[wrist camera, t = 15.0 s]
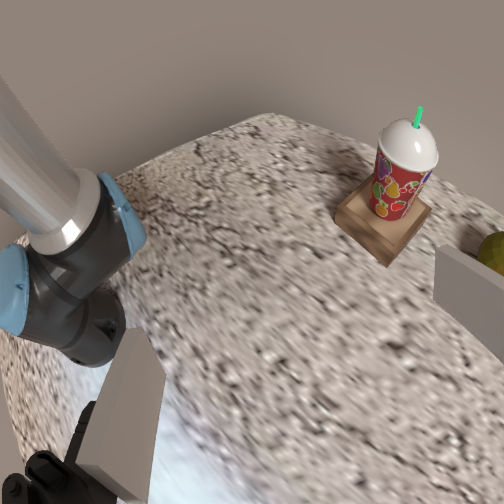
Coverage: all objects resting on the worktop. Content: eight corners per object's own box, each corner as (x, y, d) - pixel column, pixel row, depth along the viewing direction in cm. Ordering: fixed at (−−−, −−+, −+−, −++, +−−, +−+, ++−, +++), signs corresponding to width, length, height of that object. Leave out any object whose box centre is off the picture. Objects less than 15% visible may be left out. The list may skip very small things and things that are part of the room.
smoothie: (420, 214, 42) (465, 122, 24) (385, 238, 41) (426, 141, 24) (388, 179, 46) (414, 83, 28) (352, 199, 45) (371, 96, 27)
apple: (463, 247, 44) (491, 215, 34) (500, 250, 42) (529, 221, 32) (470, 299, 39) (504, 275, 30) (508, 299, 38) (542, 277, 28)
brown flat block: (334, 222, 50) (337, 205, 45) (373, 185, 52) (378, 167, 47) (386, 268, 45) (395, 254, 40) (422, 224, 47) (432, 208, 42)
